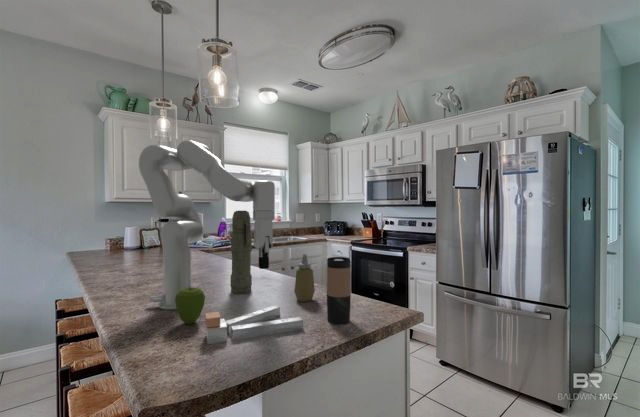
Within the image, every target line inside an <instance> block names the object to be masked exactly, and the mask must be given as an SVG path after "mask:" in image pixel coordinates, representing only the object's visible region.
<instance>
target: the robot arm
mask: <svg viewBox="0 0 640 417" xmlns="http://www.w3.org/2000/svg"><path fill="white" fill-rule="evenodd" d="M223 164H224V163H223V161H222V160H221V159H220V158H218V157H217V156H216V155H214V154H213V152H212V150H211V148H209V146H207V145H206V144H203V143H200V142H197V141H195V140H190V139H188V140H187V139H186V140H183V141H181V142H179V143H178V145H177V147H176V148H173V147H172V148H171V147H168V146H166V145H162V144H150V145H148V146H146V147H145V148H143V150H142V151H141V153H140V155H139V158H138V169H139V172H140V175H141V177H142V179H143V182H144V183H145V186H146V188H147V191H148V194H149V196H150V199H151V202H152V204H153V208H154V210H155V213H156V214H157V215H158V216H159V217H161V218H163V219H174V220H170V221H168V222H166V223H165V224H164V225H162V227H161V230H160V233H159V234H160V236H159V237H160V241H161V246H162V255H163V256H162V263H163V266H162V268H163V270H162V272H163V274H162V276H163V278H162V279H163V282H162V284H163V285H162V286H163V287H162V289H163V290H162V291H163V292H162V294H159V295H149V302H152V303H158V302H159V303H158V308H159V309H160V310H167V311H169V310H177V308H176V302H175V298H176V295H177V293H178V292H179V291H180V290H182V289H185V288H192V252H191V249H190V246H189V245H190V244H193V243H197V242H199V241H200V240H201V239H202V238H203V236H204V226H203V223H202V220H201V218H200V215H199V213H198V210H197V207H196V205H195V203H194V201H193V199H191V197H190V196H189V195H186V194H183V193H177V192H176V189H175V188H174V186H173V183H172V180H171V179H170V177H169V176H168V174H167V173H166V172H165V171H164V170H168V171H173V172H182V171H187V170H194V171H196V172H197V173H198V174H200V175H201V176H202V177H204V178H205V179H206V181H207V182H208V183H209V185H210V186H211V187H212V188H213V189H214V190H216V191H217V192H218V193H219V194H221V195H222V196H224V197H225V198H226V199H228V200H230V201H234V202H242V203H245V202H246V203H250V202H252V221H254V228H253V230H254V231H253V247H255V248H256V249H257V250H258V268H259V269H260V270H266V269H269V268H270V264H269V263H270V250H271V249H272V248H273V245H274V230H273V227H274V226H273V221H275V216H276V215H275V210H276V209H275V206H276V205H275V203H276V200H275V198H276V196H275V195H276V193H275V192H276V190H275V187H276V186H275V182H274V181H270V180H256V181H248V180H245V179H240V178H237V177H236V176H234V174H232V173H230V172H229V171H227V169H225V168H224V167H223Z"/></svg>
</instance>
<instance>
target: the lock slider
mask: <svg viewBox="0 0 640 417" xmlns="http://www.w3.org/2000/svg"><path fill="white" fill-rule="evenodd" d="M220 319H221V314H220V313H219V311H213V312H206V313H204V323H205V324H204V325H205V329H206V328H208V327H216V326H220Z"/></svg>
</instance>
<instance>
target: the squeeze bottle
mask: <svg viewBox="0 0 640 417" xmlns="http://www.w3.org/2000/svg"><path fill="white" fill-rule="evenodd" d="M308 260H309V259H308V256H307V254H306V253H303V255H302V259H301V262H299V263H298V268H297V269H296V273H295V283H294V294H295V297H296V300H297V301H299V302H310V301H312V300H313V297H314V294H315V292H316V291H315V280H314V270H313V269H312V268H311V263H310V262H309V261H308Z"/></svg>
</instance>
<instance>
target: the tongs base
mask: <svg viewBox="0 0 640 417" xmlns="http://www.w3.org/2000/svg"><path fill="white" fill-rule="evenodd" d="M225 321H226V320H225V318H220V326H216V327H208V328H206V327H205V337H206V342H207V345H211V344H218V343H225V342H228V334H227V325H226V322H225ZM303 329H304V319H303V318H302V317H301V316H297V317H289V318H282V319H275V320H266V321H263V322H259V323H252V324H245V325H238V326H231V333H230V334H231V335H230V337H231V339H232V341H236V340H242V339H249V338H256V337H261V336H262V337H263V336H266V335H267V336H268V335H275V334H281V333H285V332H293V331H300V330H303Z"/></svg>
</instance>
